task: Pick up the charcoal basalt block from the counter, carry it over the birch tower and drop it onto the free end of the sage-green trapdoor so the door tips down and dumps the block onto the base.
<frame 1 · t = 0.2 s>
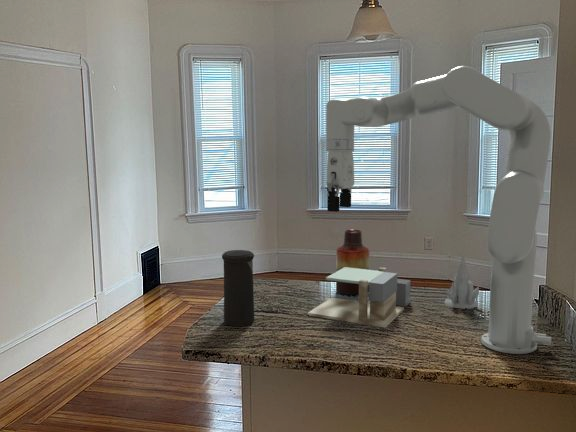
hand: (339, 209, 152), 31 cm above the worktop, fingers open, 9 cm apart
crystal: (460, 304, 169), on the worktop
vase: (352, 292, 182), on the worktop
trapdoor: (362, 283, 158), point 9 cm above the worktop, hinge at 0.0°
container: (239, 322, 153), on the worktop
frame: (356, 312, 160), on the worktop
basalt block: (399, 303, 169), on the worktop
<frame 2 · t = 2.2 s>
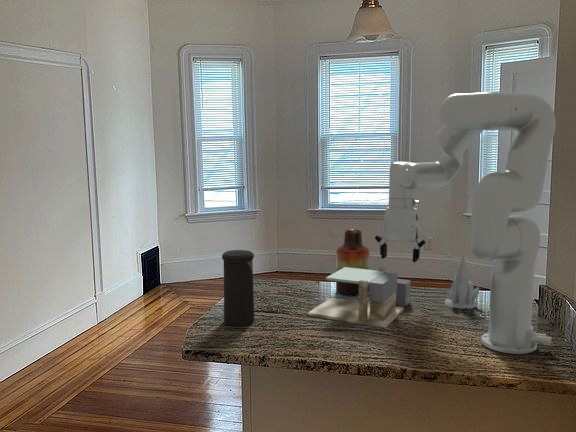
hand: (399, 259, 168), 14 cm above the worktop, fingers open, 9 cm apart
nothing on the worktop moved.
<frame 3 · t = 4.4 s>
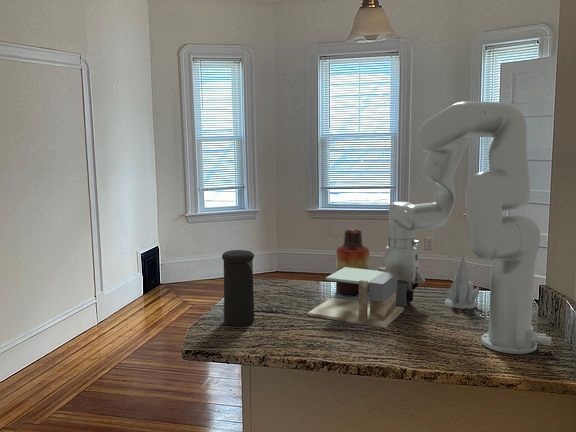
hand: (399, 301, 169), 1 cm above the worktop, fingers closed on basalt block, 5 cm apart
basalt block: (399, 303, 169), on the worktop, touching gripper
everything else where it was.
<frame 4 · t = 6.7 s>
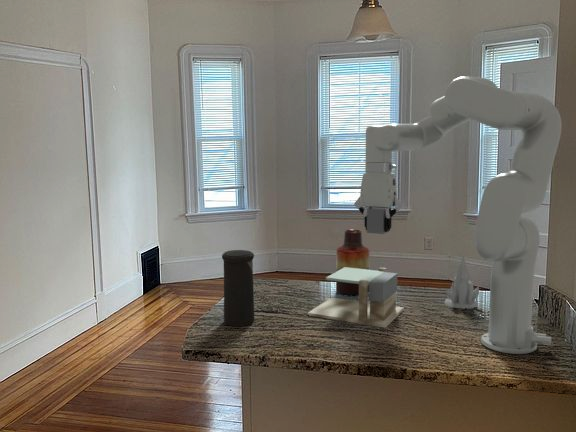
hand: (377, 229, 163), 23 cm above the worktop, fingers closed on basalt block, 5 cm apart
basalt block: (377, 232, 163), point 23 cm above the worktop, touching gripper
everything else where it was.
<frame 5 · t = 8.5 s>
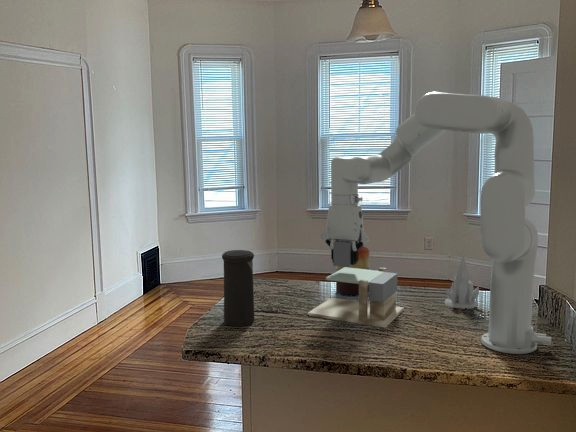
hand: (344, 262, 160), 15 cm above the worktop, fingers closed on basalt block, 5 cm apart
basalt block: (344, 264, 160), point 14 cm above the worktop, touching gripper
everything else where it was.
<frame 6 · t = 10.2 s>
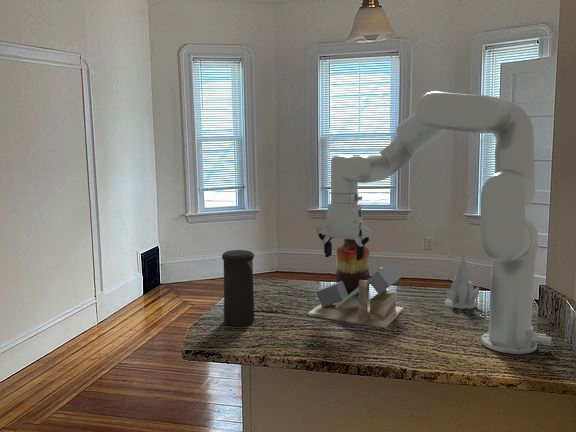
hand: (343, 257, 160), 16 cm above the worktop, fingers open, 9 cm apart
trapdoor: (370, 290, 157), point 7 cm above the worktop, hinge at -42.9°, touching basalt block
basalt block: (342, 290, 162), point 6 cm above the worktop, tilted 114°, touching frame, trapdoor
everything else where it was.
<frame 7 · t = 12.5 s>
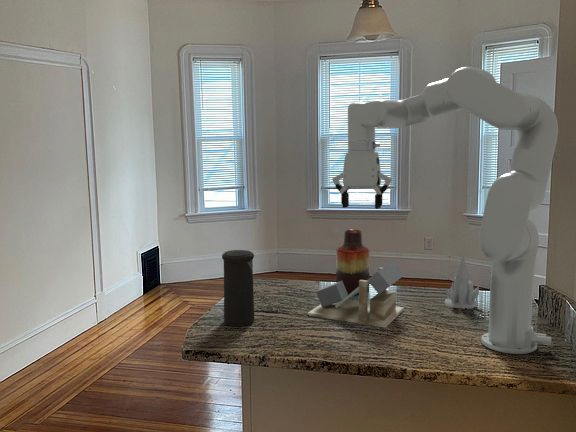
hand: (361, 207, 158), 30 cm above the worktop, fingers open, 9 cm apart
trapdoor: (370, 290, 157), point 7 cm above the worktop, hinge at -42.6°, touching basalt block
everything else where it was.
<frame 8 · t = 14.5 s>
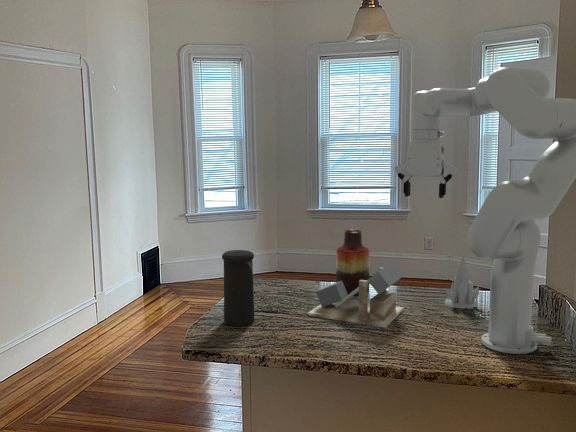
hand: (424, 196, 158), 33 cm above the worktop, fingers open, 9 cm apart
trapdoor: (369, 290, 157), point 7 cm above the worktop, hinge at -42.0°, touching basalt block
everything else where it was.
at the end: basalt block point 6.1 cm above the worktop; basalt block inside the target area (6.4 cm from its centre), point 6.1 cm above the worktop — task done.
